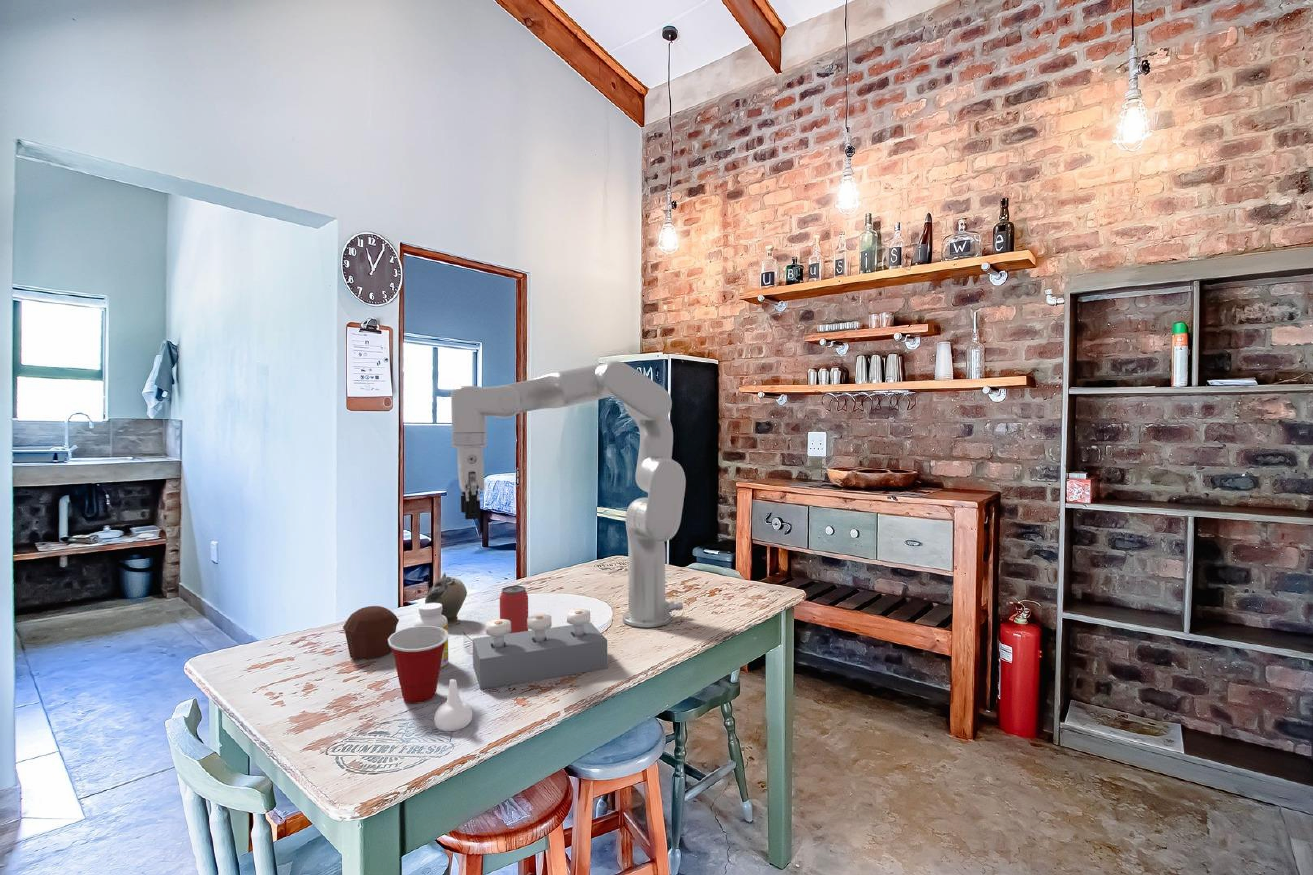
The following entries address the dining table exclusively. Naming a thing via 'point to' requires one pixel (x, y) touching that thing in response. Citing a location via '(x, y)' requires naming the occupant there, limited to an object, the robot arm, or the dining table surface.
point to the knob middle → (539, 625)
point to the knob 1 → (498, 631)
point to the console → (538, 656)
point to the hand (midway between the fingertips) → (470, 515)
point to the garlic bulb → (453, 711)
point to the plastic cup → (418, 660)
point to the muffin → (370, 632)
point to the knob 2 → (578, 620)
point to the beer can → (514, 607)
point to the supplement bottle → (434, 623)
